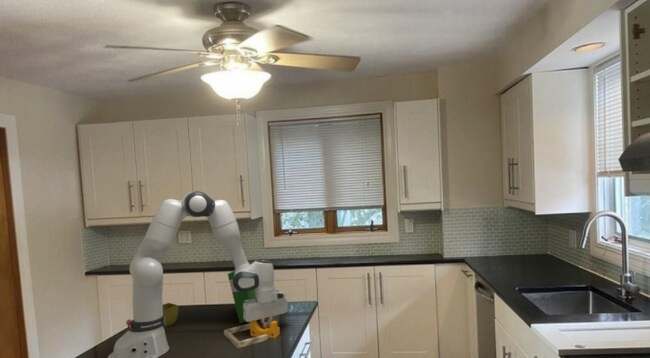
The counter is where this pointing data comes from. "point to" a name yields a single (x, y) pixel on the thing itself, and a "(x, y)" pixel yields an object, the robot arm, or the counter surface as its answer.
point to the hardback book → (240, 297)
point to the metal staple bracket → (243, 343)
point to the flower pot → (170, 313)
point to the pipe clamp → (258, 331)
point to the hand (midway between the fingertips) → (266, 326)
